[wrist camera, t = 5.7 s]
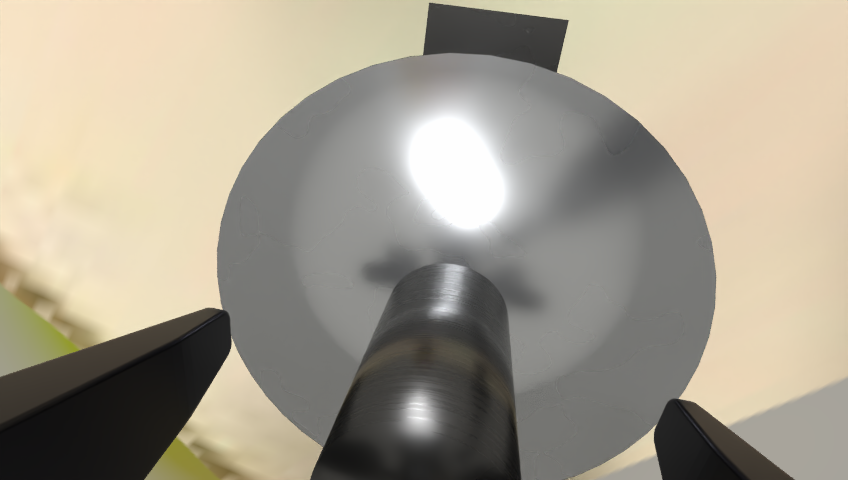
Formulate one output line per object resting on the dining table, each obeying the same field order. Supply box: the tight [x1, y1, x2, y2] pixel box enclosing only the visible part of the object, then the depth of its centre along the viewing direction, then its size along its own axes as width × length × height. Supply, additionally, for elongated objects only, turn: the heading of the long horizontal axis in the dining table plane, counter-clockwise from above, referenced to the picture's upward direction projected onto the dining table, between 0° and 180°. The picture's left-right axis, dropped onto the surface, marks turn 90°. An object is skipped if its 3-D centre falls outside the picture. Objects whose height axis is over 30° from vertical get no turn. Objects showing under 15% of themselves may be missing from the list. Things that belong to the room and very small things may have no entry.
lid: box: [217, 53, 716, 480], centre depth 8 cm, size 12×12×6 cm
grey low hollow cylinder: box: [423, 3, 569, 73], centre depth 13 cm, size 11×14×5 cm
